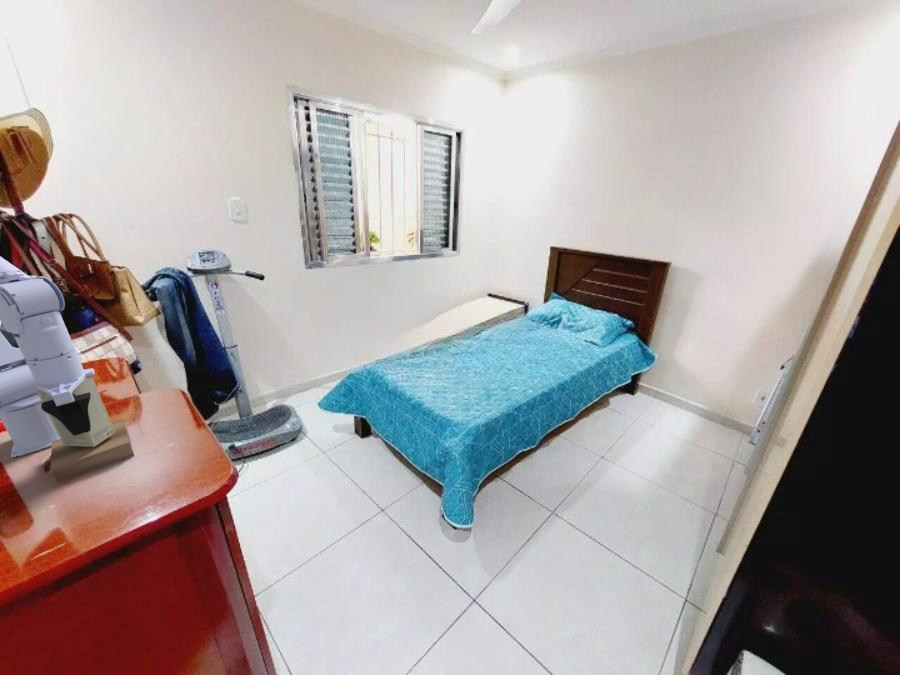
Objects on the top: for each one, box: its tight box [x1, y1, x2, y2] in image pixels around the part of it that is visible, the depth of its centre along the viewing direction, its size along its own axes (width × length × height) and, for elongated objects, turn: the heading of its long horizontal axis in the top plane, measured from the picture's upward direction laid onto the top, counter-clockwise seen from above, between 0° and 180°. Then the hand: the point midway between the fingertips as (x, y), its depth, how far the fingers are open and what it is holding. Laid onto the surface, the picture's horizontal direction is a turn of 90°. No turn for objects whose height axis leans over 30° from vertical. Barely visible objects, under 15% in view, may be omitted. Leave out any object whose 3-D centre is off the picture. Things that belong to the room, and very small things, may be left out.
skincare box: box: [34, 375, 115, 447], centre depth 63 cm, size 6×4×12 cm
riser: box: [49, 419, 135, 485], centre depth 66 cm, size 10×10×3 cm
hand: (81, 422), depth 64 cm, fingers closed on skincare box, 7 cm apart
